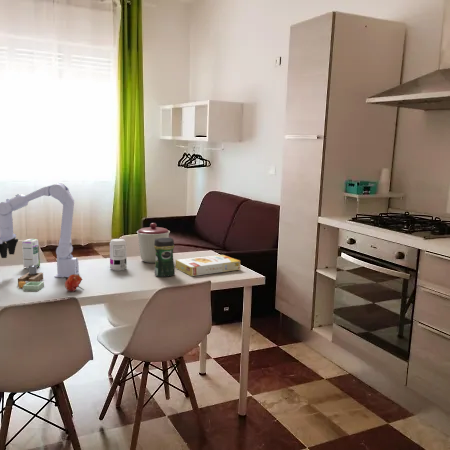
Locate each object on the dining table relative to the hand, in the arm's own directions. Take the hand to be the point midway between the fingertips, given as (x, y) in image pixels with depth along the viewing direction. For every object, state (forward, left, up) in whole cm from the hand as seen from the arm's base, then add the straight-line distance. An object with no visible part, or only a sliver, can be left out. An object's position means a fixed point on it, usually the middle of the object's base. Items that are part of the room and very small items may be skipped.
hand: (7, 256), depth 223 cm
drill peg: (-14, +6, -10) cm, 18 cm away
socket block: (-14, +9, -10) cm, 19 cm away
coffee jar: (-72, -8, -10) cm, 73 cm away
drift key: (-14, +15, -10) cm, 23 cm away
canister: (-62, -38, -10) cm, 74 cm away
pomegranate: (-37, +20, -10) cm, 44 cm away
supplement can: (-47, -19, -10) cm, 52 cm away
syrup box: (-3, -18, -10) cm, 21 cm away
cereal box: (-93, -22, -11) cm, 96 cm away
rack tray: (-19, +18, -10) cm, 28 cm away
